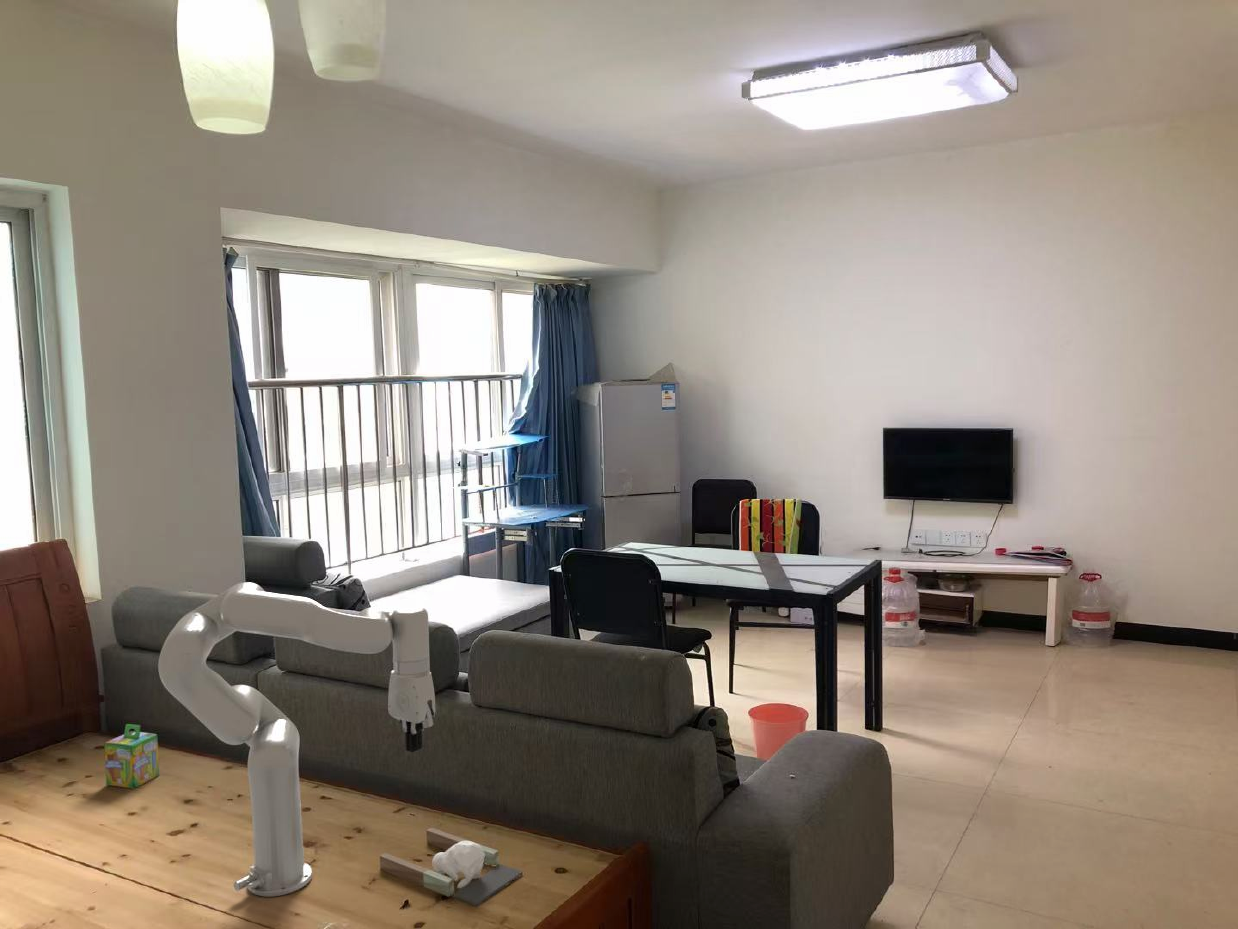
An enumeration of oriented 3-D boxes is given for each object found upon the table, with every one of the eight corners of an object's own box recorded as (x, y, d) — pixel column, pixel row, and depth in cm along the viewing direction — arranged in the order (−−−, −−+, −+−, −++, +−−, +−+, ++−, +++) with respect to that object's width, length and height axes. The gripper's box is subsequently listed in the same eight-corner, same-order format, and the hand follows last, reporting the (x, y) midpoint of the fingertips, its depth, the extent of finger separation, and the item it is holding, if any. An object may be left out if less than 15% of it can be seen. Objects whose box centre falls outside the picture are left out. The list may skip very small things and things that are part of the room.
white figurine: (466, 851, 191) (421, 843, 197) (470, 893, 191) (425, 883, 197) (485, 838, 196) (441, 830, 202) (490, 878, 196) (446, 869, 203)
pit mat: (476, 906, 187) (476, 903, 187) (454, 897, 190) (453, 894, 190) (522, 874, 198) (522, 871, 198) (500, 866, 201) (500, 864, 201)
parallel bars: (448, 896, 190) (448, 882, 190) (380, 869, 201) (379, 856, 201) (498, 864, 202) (498, 851, 202) (431, 840, 214) (431, 827, 213)
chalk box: (105, 786, 247) (101, 730, 246) (133, 772, 256) (129, 718, 254) (134, 790, 244) (130, 733, 243) (161, 775, 253) (157, 721, 252)
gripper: (373, 664, 203) (376, 748, 204) (423, 676, 194) (426, 763, 196) (400, 655, 209) (403, 737, 210) (449, 666, 200) (452, 751, 202)
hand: (414, 749), depth 203 cm, fingers closed
